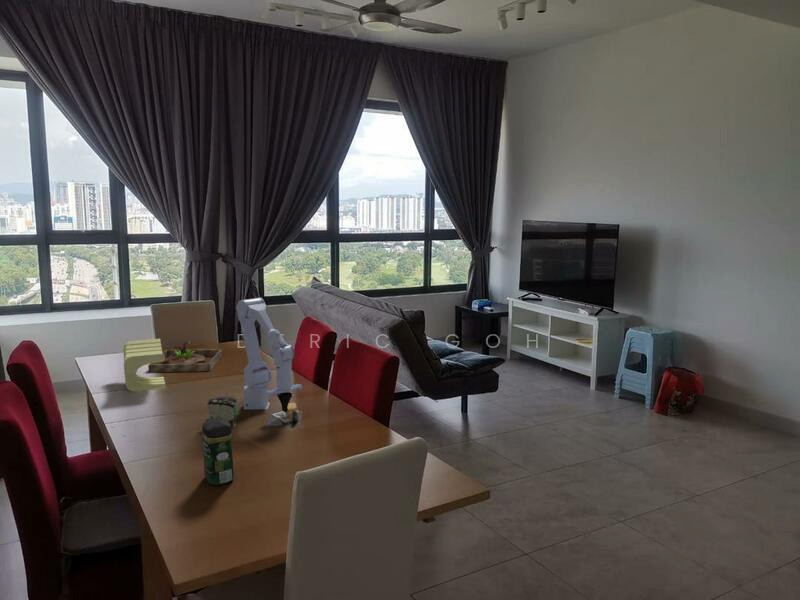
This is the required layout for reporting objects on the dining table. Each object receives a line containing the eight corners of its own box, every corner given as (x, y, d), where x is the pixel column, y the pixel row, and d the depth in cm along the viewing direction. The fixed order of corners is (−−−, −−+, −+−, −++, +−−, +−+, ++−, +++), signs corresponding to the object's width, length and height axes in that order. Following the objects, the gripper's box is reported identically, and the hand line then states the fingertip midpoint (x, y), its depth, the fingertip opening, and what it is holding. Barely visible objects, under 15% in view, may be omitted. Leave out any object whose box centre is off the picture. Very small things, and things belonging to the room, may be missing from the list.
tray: (266, 427, 227) (266, 413, 226) (271, 413, 241) (271, 400, 240) (299, 426, 228) (299, 413, 227) (302, 412, 242) (302, 399, 242)
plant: (212, 363, 313) (211, 342, 311) (175, 370, 299) (174, 348, 297) (194, 356, 327) (193, 335, 325) (158, 362, 314) (157, 341, 312)
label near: (285, 422, 230) (285, 421, 230) (278, 418, 234) (278, 417, 234) (296, 419, 233) (296, 418, 233) (289, 415, 237) (289, 414, 237)
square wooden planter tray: (148, 372, 296) (148, 364, 295) (166, 356, 324) (165, 350, 324) (210, 371, 298) (210, 364, 298) (222, 355, 327) (221, 349, 326)
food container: (246, 424, 230) (245, 398, 228) (236, 430, 224) (235, 403, 222) (218, 420, 234) (217, 394, 232) (208, 425, 228) (206, 399, 226)
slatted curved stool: (125, 379, 284) (123, 341, 281) (162, 375, 291) (160, 338, 288) (126, 398, 257) (123, 357, 254) (166, 393, 264) (164, 353, 261)
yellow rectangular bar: (298, 418, 232) (298, 412, 232) (289, 419, 231) (289, 412, 231) (294, 407, 243) (294, 401, 243) (285, 408, 242) (285, 402, 242)
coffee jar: (201, 476, 187) (198, 417, 184) (227, 470, 191) (225, 413, 188) (210, 488, 179) (207, 428, 176) (236, 482, 183) (234, 423, 180)
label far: (278, 418, 234) (278, 417, 234) (271, 415, 237) (271, 414, 237) (289, 415, 237) (289, 414, 237) (283, 412, 241) (283, 411, 241)
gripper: (272, 383, 227) (273, 418, 229) (305, 375, 236) (306, 409, 239) (263, 378, 232) (264, 413, 234) (296, 371, 242) (296, 404, 244)
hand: (284, 411), depth 237 cm, fingers closed, pressing on yellow rectangular bar
